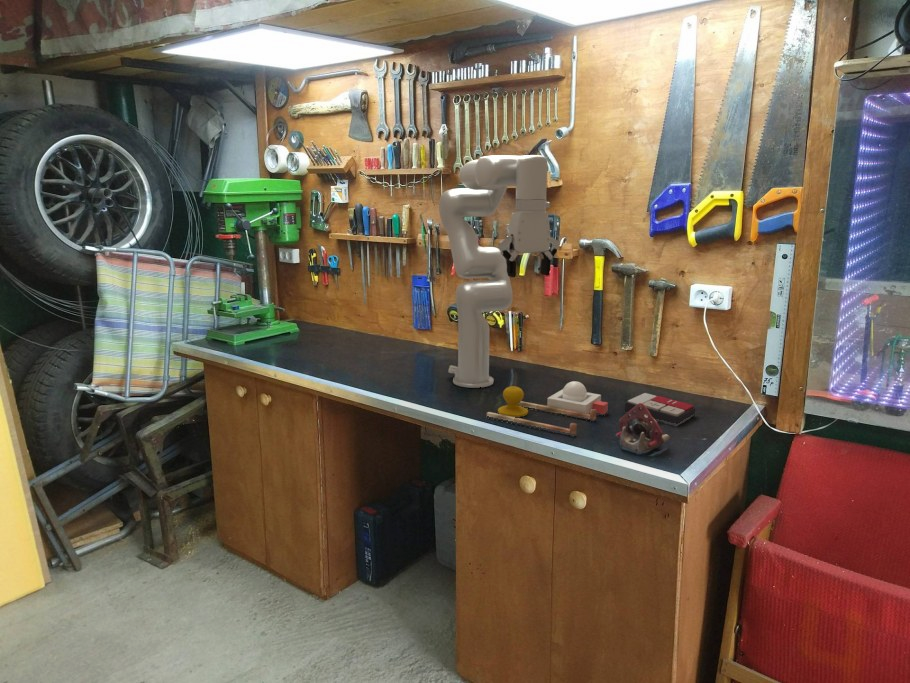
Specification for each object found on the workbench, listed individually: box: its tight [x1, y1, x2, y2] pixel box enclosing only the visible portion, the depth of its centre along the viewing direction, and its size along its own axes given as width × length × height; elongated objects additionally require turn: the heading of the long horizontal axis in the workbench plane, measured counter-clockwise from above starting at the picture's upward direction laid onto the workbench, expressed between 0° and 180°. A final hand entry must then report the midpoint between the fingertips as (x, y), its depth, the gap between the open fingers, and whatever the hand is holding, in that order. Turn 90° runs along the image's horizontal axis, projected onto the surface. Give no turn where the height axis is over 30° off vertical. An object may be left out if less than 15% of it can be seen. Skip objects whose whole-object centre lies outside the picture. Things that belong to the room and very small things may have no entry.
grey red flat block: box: [623, 392, 696, 424], centre depth 179 cm, size 11×4×15 cm
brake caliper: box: [615, 403, 670, 452], centre depth 156 cm, size 11×11×12 cm
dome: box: [562, 380, 588, 402], centre depth 183 cm, size 6×6×6 cm
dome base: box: [546, 388, 609, 414], centre depth 182 cm, size 14×11×4 cm
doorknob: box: [497, 385, 529, 417], centre depth 179 cm, size 8×8×8 cm
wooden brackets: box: [486, 400, 597, 435], centre depth 175 cm, size 25×15×3 cm, turn 57°
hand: (528, 275), depth 170 cm, fingers open, 9 cm apart
